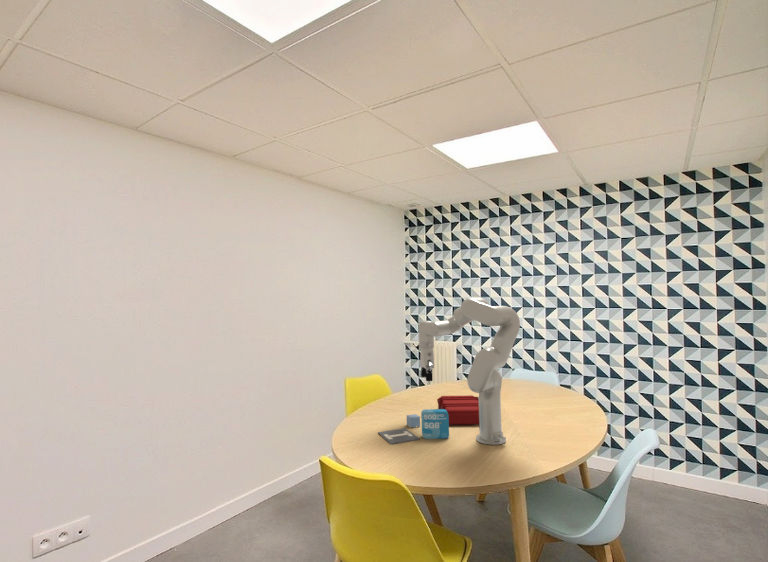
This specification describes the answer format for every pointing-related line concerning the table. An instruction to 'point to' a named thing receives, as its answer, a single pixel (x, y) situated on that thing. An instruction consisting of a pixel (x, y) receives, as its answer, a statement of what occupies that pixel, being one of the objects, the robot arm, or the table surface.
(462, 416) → the first aid kit
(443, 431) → the data package
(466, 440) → the table surface
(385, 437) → the letter mat
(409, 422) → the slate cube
